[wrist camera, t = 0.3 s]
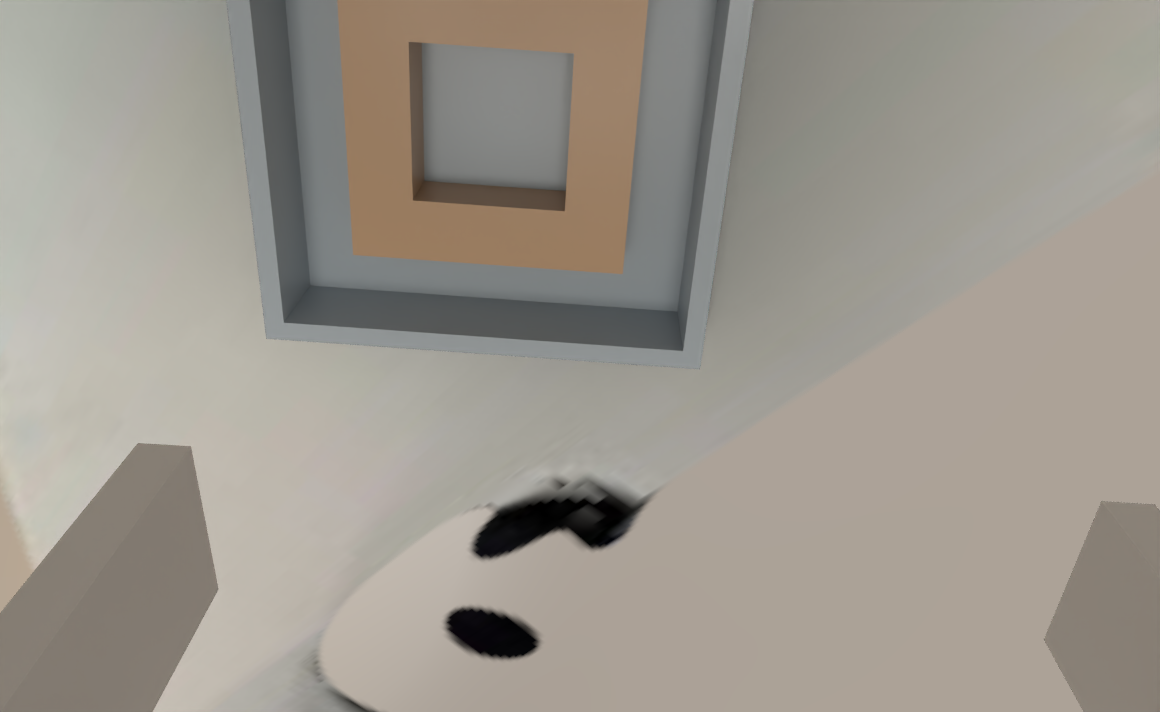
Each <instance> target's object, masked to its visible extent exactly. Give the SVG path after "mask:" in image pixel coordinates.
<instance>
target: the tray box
mask: <svg viewBox="0 0 1160 712" xmlns="http://www.w3.org/2000/svg"><path fill="white" fill-rule="evenodd" d="M226 1H227V10H228V18H229V27H230V35H231V44H232V52H233V61H234V69H235V78H236V86H237V95H238V103H239V112H240V120H241V129H242V137H243V145H244V154H245V162H246V171H247V179H248V188H249V196H250V205H251V213H252V222H253V230H254V239H255V247H256V256H257V264H258V273H259V281H260V290H261V298H262V307H263V315H264V323H265V332H266V339H279V340H293V341H307V342H321V343H336V344H350V345H364V346H378V347H392V348H406V349H420V350H434V351H448V352H462V353H476V354H491V355H505V356H519V357H533V358H547V359H561V360H575V361H589V362H603V363H617V364H631V365H646V366H660V367H674V368H688V369H700V366H701V359H702V352H703V345H704V339H705V332H706V325H707V318H708V311H709V305H710V298H711V291H712V284H713V277H714V270H715V264H716V257H717V250H718V243H719V236H720V229H721V223H722V216H723V209H724V202H725V195H726V189H727V182H728V175H729V168H730V161H731V154H732V148H733V141H734V134H735V127H736V120H737V114H738V107H739V100H740V93H741V86H742V79H743V73H744V66H745V59H746V52H747V45H748V38H749V32H750V25H751V18H752V11H753V4H754V0H226Z"/></svg>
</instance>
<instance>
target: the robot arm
mask: <svg viewBox="0 0 1160 712" xmlns="http://www.w3.org/2000/svg"><path fill="white" fill-rule="evenodd" d="M217 591H218V584H217V579H216V574H215V569H214V564H213V558H212V553H211V548H210V543H209V538H208V533H207V527H206V522H205V517H204V512H203V507H202V502H201V496H200V491H199V486H198V481H197V476H196V471H195V465H194V460H193V455H192V450H191V446H176V445H159V444H143V443H138V444H137V445H136V446H135V447H134V449H133V450H132V451H131V452H130V454H129V455H128V456H127V457H126V459H125V460H124V461H123V462H122V463H121V465H120V466H119V467H118V468H117V470H116V471H115V472H114V473H113V475H112V476H111V477H110V478H109V479H108V481H107V482H106V483H105V484H104V486H103V487H102V488H101V489H100V491H99V492H98V493H97V494H96V496H95V497H94V498H93V499H92V500H91V502H90V503H89V504H88V505H87V507H86V508H85V509H84V510H83V512H82V513H81V514H80V515H79V516H78V518H77V519H76V520H75V521H74V523H73V524H72V525H71V526H70V528H69V529H68V530H67V531H66V532H65V534H64V535H63V536H62V537H61V539H60V540H59V541H58V542H57V544H56V545H55V546H54V547H53V549H52V550H51V551H50V552H49V553H48V555H47V556H46V557H45V558H44V560H43V561H42V562H41V563H40V565H39V566H38V567H37V568H36V569H35V571H34V572H33V573H32V574H31V576H30V577H29V578H28V579H27V581H26V582H25V583H24V584H23V586H22V587H21V588H20V589H19V590H18V592H17V593H16V594H15V595H14V597H13V598H12V599H11V601H10V602H9V603H8V604H7V605H6V607H5V608H4V609H3V610H2V611H1V613H0V712H152V711H153V710H154V708H155V706H156V704H157V702H158V700H159V699H160V697H161V695H162V693H163V691H164V689H165V687H166V686H167V684H168V682H169V680H170V678H171V676H172V674H173V673H174V671H175V669H176V667H177V665H178V663H179V661H180V660H181V658H182V656H183V654H184V652H185V650H186V648H187V647H188V645H189V643H190V641H191V639H192V637H193V636H194V634H195V632H196V630H197V628H198V626H199V624H200V623H201V621H202V619H203V617H204V615H205V613H206V611H207V610H208V608H209V606H210V604H211V602H212V600H213V598H214V597H215V595H216V593H217ZM1044 641H1045V643H1046V644H1047V646H1048V648H1049V650H1050V651H1051V653H1052V655H1053V657H1054V658H1055V661H1056V663H1057V664H1058V666H1059V668H1060V670H1061V671H1062V673H1063V675H1064V677H1065V679H1066V681H1067V683H1068V684H1069V686H1070V688H1071V690H1072V692H1073V693H1074V695H1075V697H1076V699H1077V701H1078V703H1079V704H1080V706H1081V708H1082V710H1083V712H1160V510H1159V509H1158V508H1157V507H1156V505H1155V504H1138V503H1121V502H1105V501H1102V502H1101V504H1100V506H1099V509H1098V511H1097V513H1096V516H1095V518H1094V520H1093V523H1092V525H1091V528H1090V530H1089V532H1088V535H1087V537H1086V540H1085V542H1084V544H1083V547H1082V549H1081V552H1080V554H1079V557H1078V559H1077V561H1076V564H1075V566H1074V568H1073V571H1072V573H1071V576H1070V578H1069V580H1068V583H1067V585H1066V588H1065V590H1064V593H1063V595H1062V597H1061V600H1060V602H1059V604H1058V607H1057V610H1056V612H1055V614H1054V616H1053V619H1052V621H1051V624H1050V626H1049V628H1048V631H1047V633H1046V636H1045V638H1044Z"/></svg>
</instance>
